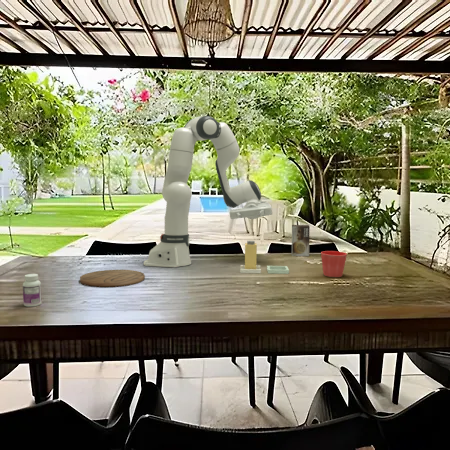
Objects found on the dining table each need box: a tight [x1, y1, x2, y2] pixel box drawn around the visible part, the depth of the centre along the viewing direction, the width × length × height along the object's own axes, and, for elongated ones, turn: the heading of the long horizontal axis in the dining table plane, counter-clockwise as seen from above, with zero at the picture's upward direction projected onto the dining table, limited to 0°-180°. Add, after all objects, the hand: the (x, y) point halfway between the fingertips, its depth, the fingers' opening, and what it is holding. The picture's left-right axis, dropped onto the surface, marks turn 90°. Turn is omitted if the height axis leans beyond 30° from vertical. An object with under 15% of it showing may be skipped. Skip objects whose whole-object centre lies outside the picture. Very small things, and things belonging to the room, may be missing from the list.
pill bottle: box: [22, 273, 43, 308], centre depth 140 cm, size 5×5×10 cm
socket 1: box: [239, 264, 262, 274], centre depth 195 cm, size 9×9×2 cm
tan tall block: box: [244, 240, 258, 269], centre depth 194 cm, size 5×5×13 cm
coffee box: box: [291, 224, 311, 257], centre depth 236 cm, size 9×6×16 cm
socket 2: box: [266, 265, 290, 275], centre depth 194 cm, size 9×9×2 cm
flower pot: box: [320, 250, 348, 278], centre depth 187 cm, size 11×11×10 cm
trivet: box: [79, 269, 146, 288], centre depth 176 cm, size 25×25×2 cm
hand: (249, 215), depth 203 cm, fingers open, 8 cm apart
